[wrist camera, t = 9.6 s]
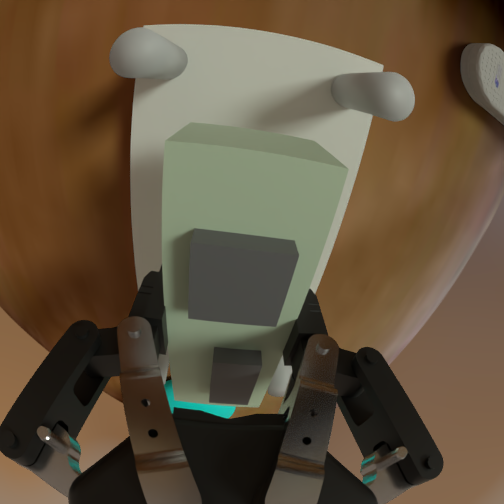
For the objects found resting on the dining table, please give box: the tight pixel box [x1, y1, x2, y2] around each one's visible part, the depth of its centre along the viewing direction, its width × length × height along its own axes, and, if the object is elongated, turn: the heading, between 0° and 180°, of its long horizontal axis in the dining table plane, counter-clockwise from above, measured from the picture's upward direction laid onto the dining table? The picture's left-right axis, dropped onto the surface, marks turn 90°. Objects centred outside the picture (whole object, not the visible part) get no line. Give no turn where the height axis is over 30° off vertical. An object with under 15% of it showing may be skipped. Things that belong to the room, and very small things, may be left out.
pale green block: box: [162, 122, 349, 407], centre depth 12 cm, size 14×5×5 cm, turn 171°
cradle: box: [109, 24, 415, 397], centre depth 16 cm, size 24×13×6 cm, turn 171°
